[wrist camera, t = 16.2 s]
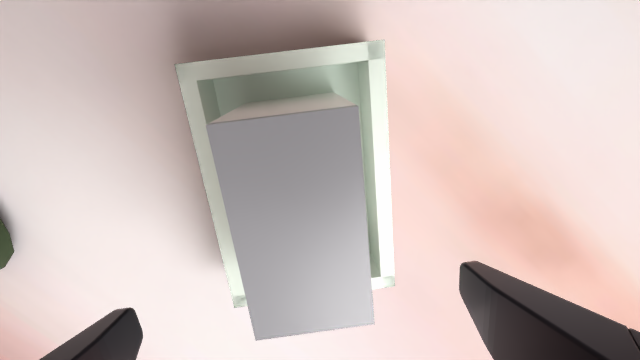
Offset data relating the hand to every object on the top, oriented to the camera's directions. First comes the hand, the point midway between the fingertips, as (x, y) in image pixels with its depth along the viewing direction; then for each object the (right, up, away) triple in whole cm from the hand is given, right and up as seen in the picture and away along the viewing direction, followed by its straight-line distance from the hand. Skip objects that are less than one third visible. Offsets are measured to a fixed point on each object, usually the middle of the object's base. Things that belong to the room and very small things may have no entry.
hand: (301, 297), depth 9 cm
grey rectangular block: (-1, +4, +11) cm, 11 cm away
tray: (-1, +4, +11) cm, 12 cm away
